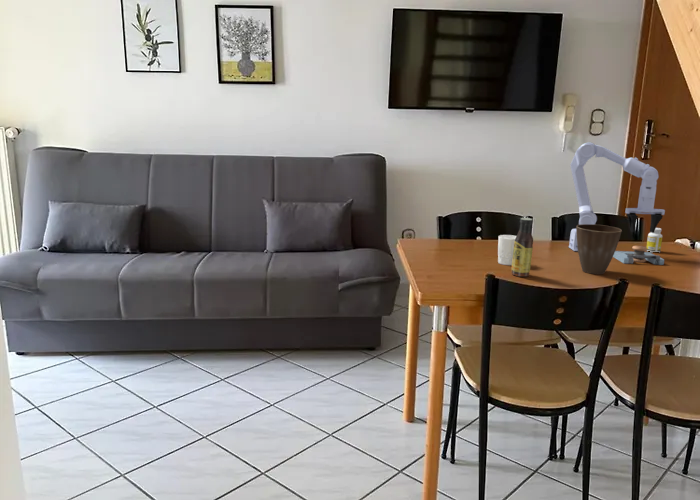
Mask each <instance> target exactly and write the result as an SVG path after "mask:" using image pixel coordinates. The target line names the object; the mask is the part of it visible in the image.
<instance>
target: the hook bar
mask: <svg viewBox="0 0 700 500" xmlns="http://www.w3.org/2000/svg"><path fill="white" fill-rule="evenodd" d="M627 258H629V261H628V264H629V265H630V264H631V265H632V263H633V264H634V262H632V260H633V258H654V259H656V260H655V262H657V261H659V262H660V258H661V256H660V255H659V254H657V255H656V254H654V256H653V255H632V254H628V255H627ZM659 262H657V263H656V264H655V265H656V266H660V265H659Z"/></svg>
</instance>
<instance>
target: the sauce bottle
mask: <svg viewBox="0 0 700 500" xmlns="http://www.w3.org/2000/svg"><path fill="white" fill-rule="evenodd" d="M519 224H520V225H519V230H518V232H517V235H515V236H516V239H515V241H514V249H513V259H512V265H511V274H512V276H515V277H522V278H523V277H529V276H530V273H531V265H532V257H533V256H532V255H533V249H534V246H533V244H534V236H533V235H532V225H533V218H530V217H520V219H519Z"/></svg>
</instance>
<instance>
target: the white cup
mask: <svg viewBox="0 0 700 500" xmlns="http://www.w3.org/2000/svg"><path fill="white" fill-rule="evenodd" d="M516 236H517V235H512V234H500V235H498V242H497V243H498V244H497V256H498V257H497V262H498V263H497V264H500V265H504V266H512V259H513V249H514V241H515V239H516Z"/></svg>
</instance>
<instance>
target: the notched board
mask: <svg viewBox="0 0 700 500" xmlns="http://www.w3.org/2000/svg"><path fill="white" fill-rule="evenodd" d="M628 254H632V255H634V250H633V251H626V250H615V253H614V255H613V257H612V258H614V259H616V260H617V261H618V262H621V263H622V264H628V261H629V258H627V255H628ZM644 255H653V256H654V255H655V253H653V252H648V251H645V252H644ZM645 259H646V262H649V263H651V264H653V265H655V264H656V263H657V262H659V261H657V262H655V260H656V259H654V258H645ZM633 260H634V259H633ZM633 260H632V262H633ZM632 264H634V262H633V263H632ZM632 264H631V265H632ZM664 264H665V259H664V258H662V257H660V262H659V265H658V266H662V265H663V266H664Z"/></svg>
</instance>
